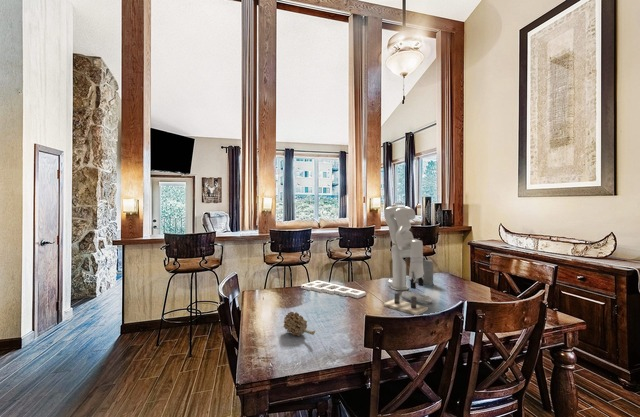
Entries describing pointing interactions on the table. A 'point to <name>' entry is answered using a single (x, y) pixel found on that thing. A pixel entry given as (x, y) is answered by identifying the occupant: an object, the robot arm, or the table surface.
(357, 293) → the holder
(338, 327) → the table surface
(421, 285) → the robot arm
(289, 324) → the pine cone
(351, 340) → the table surface
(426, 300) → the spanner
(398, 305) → the peg board
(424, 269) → the hip flask
